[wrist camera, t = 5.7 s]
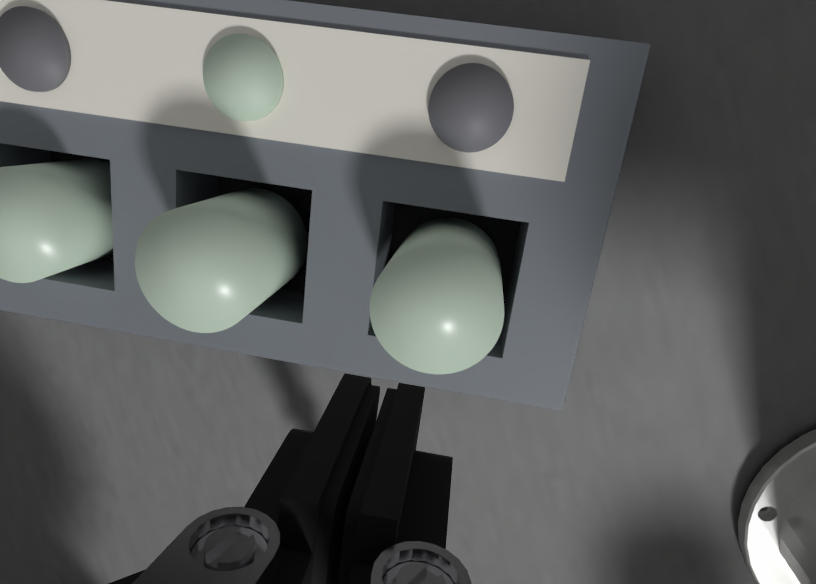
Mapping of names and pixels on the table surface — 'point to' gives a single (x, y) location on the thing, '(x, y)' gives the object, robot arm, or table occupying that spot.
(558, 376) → the board
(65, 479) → the table surface
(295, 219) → the button middle
